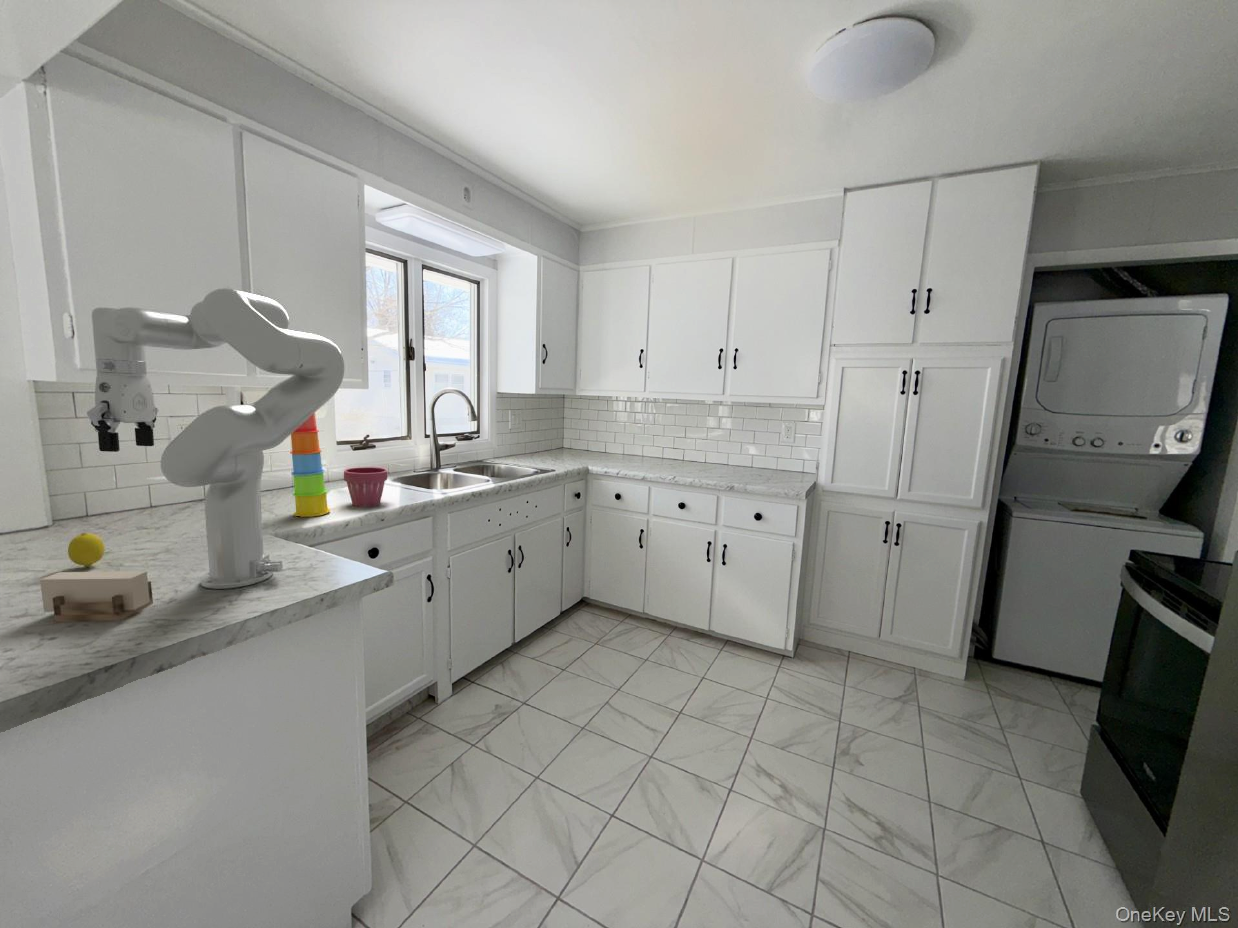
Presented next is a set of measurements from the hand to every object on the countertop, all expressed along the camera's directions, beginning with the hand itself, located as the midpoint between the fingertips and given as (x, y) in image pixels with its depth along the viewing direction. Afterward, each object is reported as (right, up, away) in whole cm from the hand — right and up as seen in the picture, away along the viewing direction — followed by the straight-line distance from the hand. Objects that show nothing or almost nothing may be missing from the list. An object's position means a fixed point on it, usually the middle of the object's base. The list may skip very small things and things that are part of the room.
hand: (128, 448), depth 106 cm
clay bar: (+12, -30, -17) cm, 36 cm away
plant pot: (+14, -18, +73) cm, 77 cm away
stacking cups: (+5, -20, +56) cm, 60 cm away
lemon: (-13, -27, +4) cm, 30 cm away
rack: (+13, -31, -16) cm, 37 cm away
